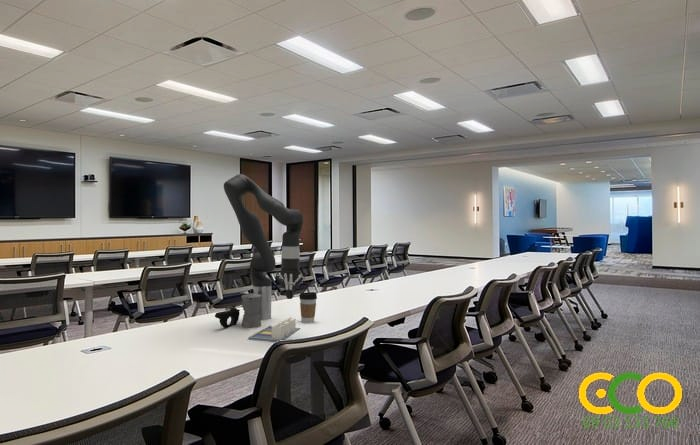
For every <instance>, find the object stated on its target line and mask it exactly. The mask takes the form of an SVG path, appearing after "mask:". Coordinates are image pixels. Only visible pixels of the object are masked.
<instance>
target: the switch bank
mask: <svg viewBox="0 0 700 445" xmlns="http://www.w3.org/2000/svg"><path fill="white" fill-rule="evenodd" d="M272 326H273V325H268V326H266V327H265V328H263V329H261V330H260V331H257V332H255V333H254V334H252V335H250V336H249V337H248V338H247V339H246V341H256V342H267V343H278V342H277V341H280V340H284V341H285V340H286V339H288V338H289V337H291V336H292V335H294V334H295V333H297V332H298V331H299V330H301V328H300V327H296V328H295V331H290V334H289V335H285V337H284V338H283V339H273V338H272Z"/></svg>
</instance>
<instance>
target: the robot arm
mask: <svg viewBox="0 0 700 445" xmlns="http://www.w3.org/2000/svg"><path fill="white" fill-rule="evenodd" d="M223 190H224V193H225V195H226V198H227V199H228V201H229V203H230V205H231V207H232V210H233V211H234V213H235V216H236V219H237V222H238V224H239V227H240V230H241V232H242V235H243V237H244V238H245V239H246V241H247V242H248V243H249V244H250V245H252V246H253V247H254V248H255V249H256V250H257V252H256V253H253V255H252V256H251V259H250V274H251V276H250V278H251V283H252V288H251V289H254V292H255V294H260V295H262V302H261V308H260V310H259V314H260V319H261V322H262V321H266V320H271V319H272V283H273V282H272V279H271V278H270V277H267V276H266V275H265V274H264V273H271V272H273V271H274V270H275V268H276V264H277V263H276V257H275V255H274V253H273V251H272V249H271V247H270V245H269V243H268V240H267V237H266V235H265V233H264V229H263V226H262V224H261V221H260V219H259V217H258V216H257V215H256V214H255V213H253V212H252V211H251V210H249V209H248V208H246V207H245V206H244V204H243V202H242V199H241V198H242V197H243V196H245V195H247V194H248V193H250V194H252V195H253V196H254V197H255V200H256V202H257V205H258V206H259V208H260V209H261V210H262V211H264V212H265V213H266V214H268V215H270V216H272V217H273V219H275V220H276V221H277V222H278V223H280V224H281V225H283V226H285V227H287V229H286V231H285V232H283V234H282V241H281V242H282V244H281V254H280V256H281V263H280V264H281V265H280V267H281V270H280V273H279V274H278V275H276V276H274V277H275V279H276V281H277V282H278V284H279V285H280V287H281V288H282V289H284V290H285V297H286V299H287V300H292V299H293V298H294V296H295V294H294V293H295V292H294V291H295V289H298V288H299V287H300V286H301V284H302V283H303V282H304V281H305V279H306V277H305V276H303V275H302V274H301V271H300V262H301V261H300V260H301V258H300V257H301V254H300V253H301V252H300V235H301V232H302V228H303V224H304V223H303V222H304V218H303V213H302V211H300V210H299V209H294V208H293V209H291V208H288V207H285V204H284V203H283V202H282V201H280V200H279V199H277V198H275V197H274V196H272V195H270V194H269V193H267V192H266V191H264V190H263V189H262V188H261V187H260V186H259V185H258V184H257V183H256V182H255V181H253V180H252V179H251V178H250V177H248V176H247V175H245V174H243V173H239V174H236V175H235V176H232V177H230V178H229V179H227V180H226V181H225V182H223Z"/></svg>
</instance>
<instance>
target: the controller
mask: <svg viewBox="0 0 700 445" xmlns="http://www.w3.org/2000/svg"><path fill="white" fill-rule="evenodd" d="M236 306H237V305H236V304H231V308H230V309H226V310H224V311H217V312H216V313H214V314H215V315H214V318H215V319H219V324H220V326H221V327H223V328H225V329H229V328H231V327H234V326H236V325H237V323H238V322H239V319H240V311H241V309H238V308H236ZM229 318H230V322H229V324H228V320H229Z"/></svg>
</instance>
